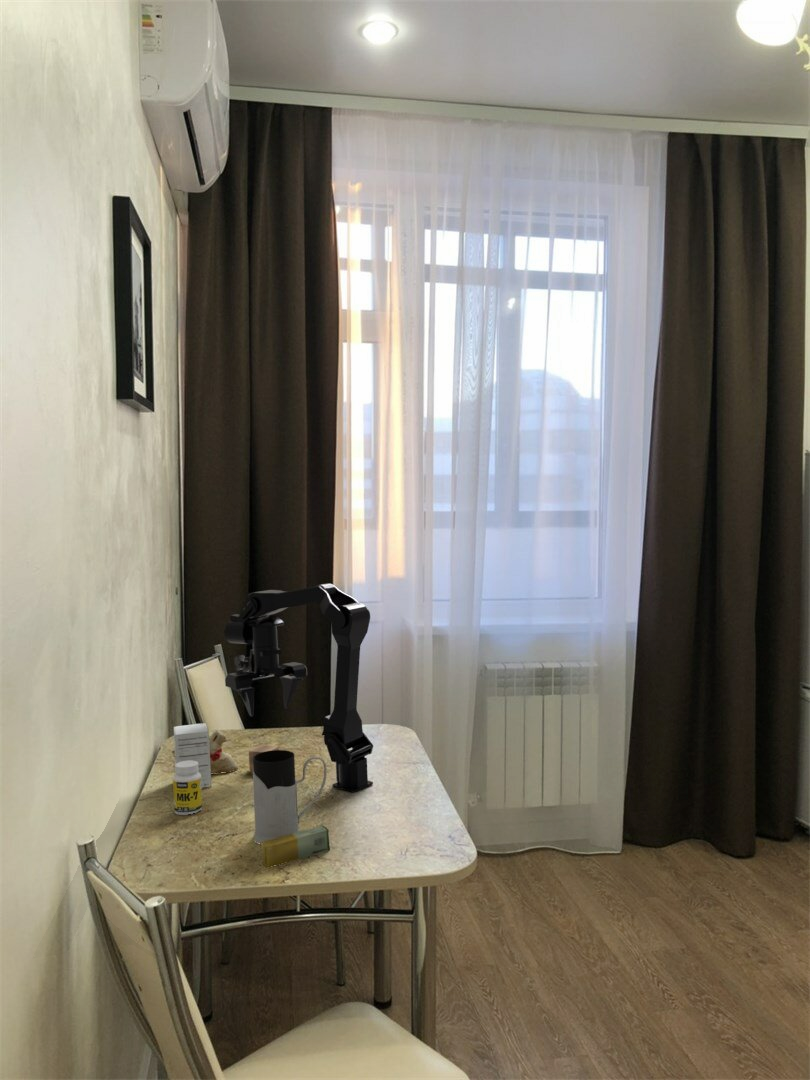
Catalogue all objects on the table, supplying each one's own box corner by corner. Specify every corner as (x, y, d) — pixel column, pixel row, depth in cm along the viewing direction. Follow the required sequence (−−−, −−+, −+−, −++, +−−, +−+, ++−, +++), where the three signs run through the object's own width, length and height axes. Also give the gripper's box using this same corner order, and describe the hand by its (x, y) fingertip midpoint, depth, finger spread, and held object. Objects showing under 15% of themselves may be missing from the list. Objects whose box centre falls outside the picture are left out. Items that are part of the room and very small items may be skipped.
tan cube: (279, 767, 191) (278, 746, 191) (268, 774, 187) (267, 752, 186) (261, 765, 193) (260, 744, 193) (249, 772, 188) (248, 751, 188)
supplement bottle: (174, 817, 162) (171, 769, 161) (174, 808, 167) (172, 761, 167) (202, 813, 163) (200, 765, 163) (202, 804, 168) (200, 758, 168)
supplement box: (175, 781, 184) (173, 726, 183) (209, 777, 186) (207, 722, 185) (176, 792, 177) (174, 734, 176) (211, 787, 179) (209, 730, 178)
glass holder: (249, 831, 153) (245, 752, 153) (322, 819, 158) (319, 742, 158) (257, 849, 145) (254, 766, 144) (334, 835, 150) (331, 755, 149)
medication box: (324, 846, 146) (322, 824, 146) (331, 851, 144) (329, 828, 144) (261, 864, 140) (259, 841, 140) (267, 869, 137) (266, 845, 137)
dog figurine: (211, 766, 194) (209, 724, 193) (240, 768, 191) (238, 726, 191) (198, 773, 189) (196, 731, 188) (227, 776, 186) (225, 732, 186)
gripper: (282, 636, 200) (285, 699, 201) (212, 647, 188) (216, 714, 189) (306, 640, 192) (310, 706, 192) (235, 652, 180) (239, 722, 180)
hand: (269, 712), depth 189 cm, fingers open, 9 cm apart
